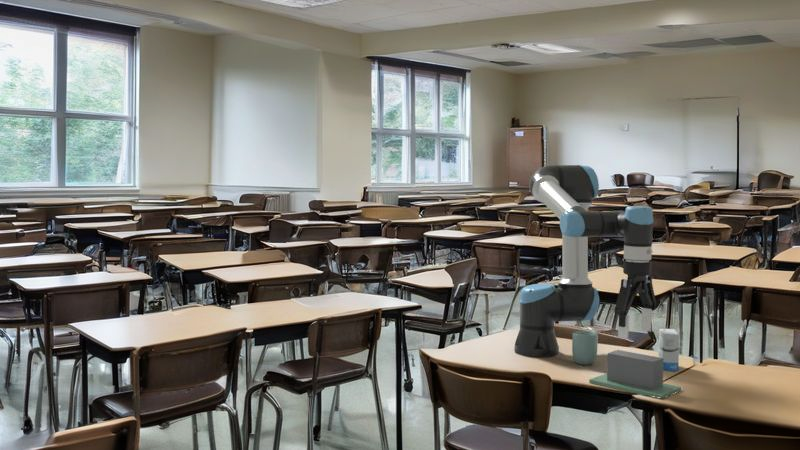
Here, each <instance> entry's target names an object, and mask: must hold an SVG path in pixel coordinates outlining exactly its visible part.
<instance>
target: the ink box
mask: <svg viewBox="0 0 800 450" xmlns="http://www.w3.org/2000/svg"><path fill="white" fill-rule="evenodd" d="M658 333H659V337H658V357H660V358H663V371H665V372H666V371H670V372H671V371H673V372H679V360H680V359H679V355H680V352H679V351H680V334H679V333H678V332H677V331H676V329H674V328H672V329H671V328H659V332H658Z"/></svg>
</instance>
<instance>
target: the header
mask: <svg viewBox="0 0 800 450" xmlns="http://www.w3.org/2000/svg"><path fill="white" fill-rule="evenodd" d="M588 383H589V384H593V385H597V386H601V387H605V388H606V387H607V388H609V389H614V390H618V391H623V392H626V393H627V392H628V393H633V394H636V395H640V394H642V395H641V396H645V395H648V396H647V397H649V396H655V397H660V398H663V397H666V396H668V395H670V396H672V395H674V394H673V393H675V392H677V391H679V392H681V391H682V386H677V385H674V384H673V385H672V384H667V383H664V382H663V386H662V387H659V388H657V389H655V390H649V389H645V388H640V387H636V386H631V385H626V384H622V383H617V382H613V381H608V380H607V372H605V373H603V374H601V375H598V376H595V377H592V378H590V379H589V382H588ZM680 390H681V391H680ZM677 393H678V392H677ZM671 394H672V395H671ZM675 394H676V393H675ZM668 397H669V396H668ZM666 398H667V397H666Z"/></svg>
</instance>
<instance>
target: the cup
mask: <svg viewBox="0 0 800 450" xmlns="http://www.w3.org/2000/svg"><path fill="white" fill-rule="evenodd" d="M598 338H599V335H598V333H597V332H595V331H590V330H589V331H588V330H576V331H573V332H572V341H571V344H572V345H571V347H572V349H571V350H572V352H571V353H572V357H573V361H574V362H576V364H579V365H580V366H590V365H593V364H594V363H595V361H596V360H597V355H598V348H599V347H598V345H599V343H598V340H599V339H598Z"/></svg>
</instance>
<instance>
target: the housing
mask: <svg viewBox="0 0 800 450" xmlns="http://www.w3.org/2000/svg"><path fill="white" fill-rule="evenodd" d="M606 369H607V371H606V373H607V380H608V381H613V382H617V383H622V384H626V385H631V386H636V387H640V388H645V389H649V390H655V389H657V388H659V387H662V386H663V383H664V370H663V358H660V357H659V356H653V355H648V354H644V353H643V354H642V353H637V352H632V351H626V350H622V349H621V350H620V349H617V350H614V351H613V350H612V351H610V352H607V368H606Z"/></svg>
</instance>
